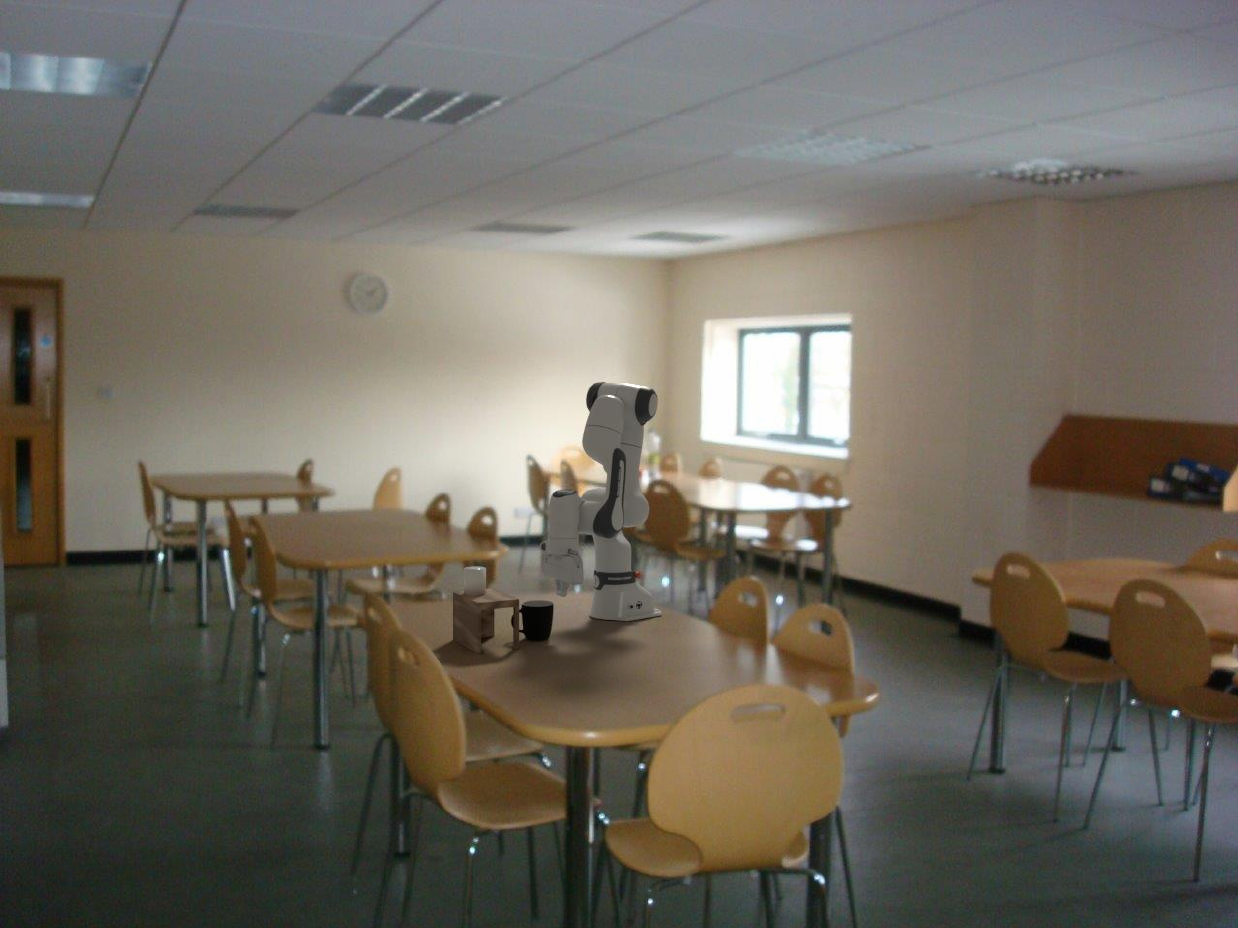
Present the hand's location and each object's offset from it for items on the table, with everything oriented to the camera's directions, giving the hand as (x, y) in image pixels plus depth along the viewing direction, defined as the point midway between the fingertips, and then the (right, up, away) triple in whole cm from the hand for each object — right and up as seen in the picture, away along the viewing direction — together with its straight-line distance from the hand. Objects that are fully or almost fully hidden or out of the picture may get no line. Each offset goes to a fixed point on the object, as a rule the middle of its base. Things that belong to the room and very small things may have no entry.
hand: (561, 595), depth 328 cm
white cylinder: (-23, +2, -8) cm, 25 cm away
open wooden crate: (-20, -12, -10) cm, 26 cm away
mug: (-8, -12, -3) cm, 15 cm away
